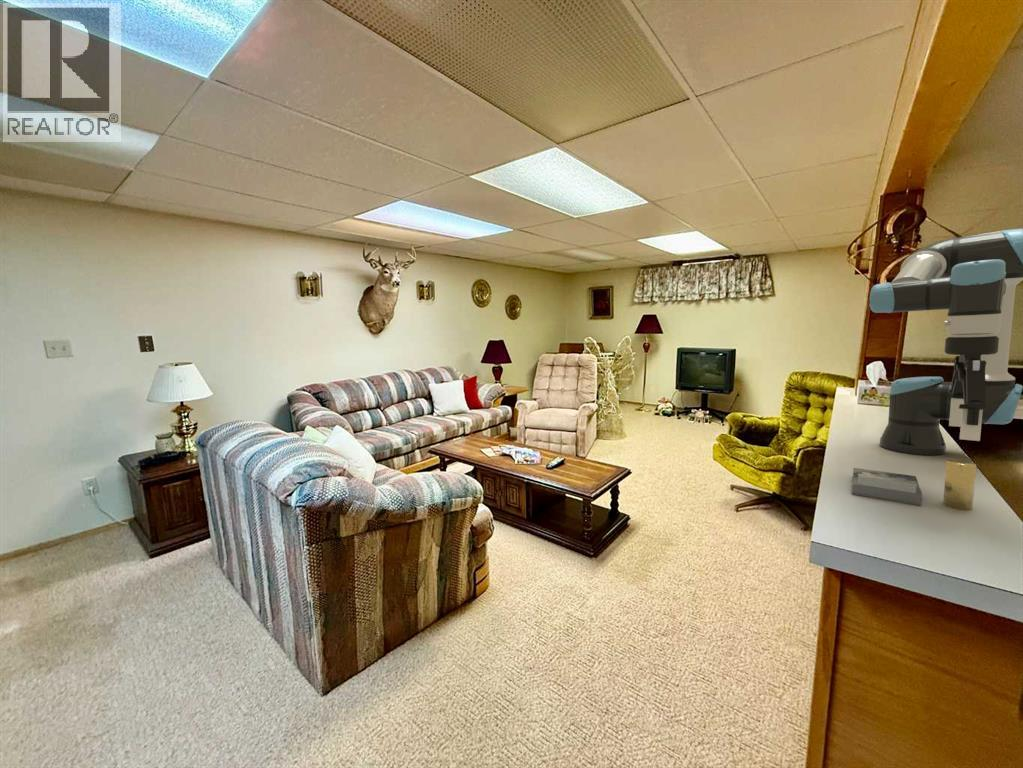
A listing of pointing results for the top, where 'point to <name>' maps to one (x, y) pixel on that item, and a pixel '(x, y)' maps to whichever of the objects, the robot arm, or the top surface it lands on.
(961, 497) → the brass rounded cylinder
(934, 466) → the top surface
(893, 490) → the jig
